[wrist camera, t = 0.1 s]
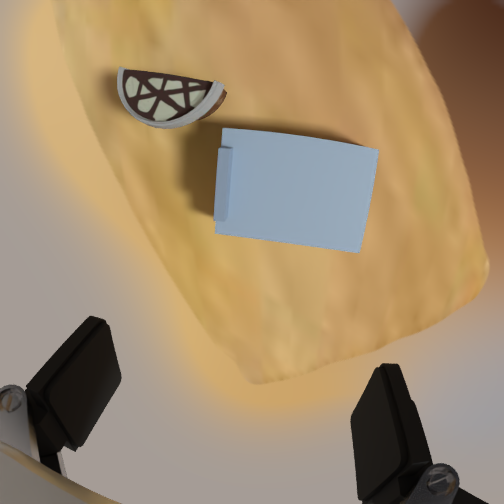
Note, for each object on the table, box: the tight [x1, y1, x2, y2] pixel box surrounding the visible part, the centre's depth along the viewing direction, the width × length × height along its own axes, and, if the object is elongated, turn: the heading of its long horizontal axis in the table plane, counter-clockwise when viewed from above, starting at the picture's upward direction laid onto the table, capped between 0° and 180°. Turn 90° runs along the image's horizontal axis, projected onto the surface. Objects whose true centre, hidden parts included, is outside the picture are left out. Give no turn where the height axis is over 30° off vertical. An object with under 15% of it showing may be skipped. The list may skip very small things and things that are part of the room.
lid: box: [214, 128, 379, 253], centre depth 31 cm, size 12×17×3 cm
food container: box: [117, 67, 227, 129], centre depth 30 cm, size 12×6×10 cm, turn 73°
